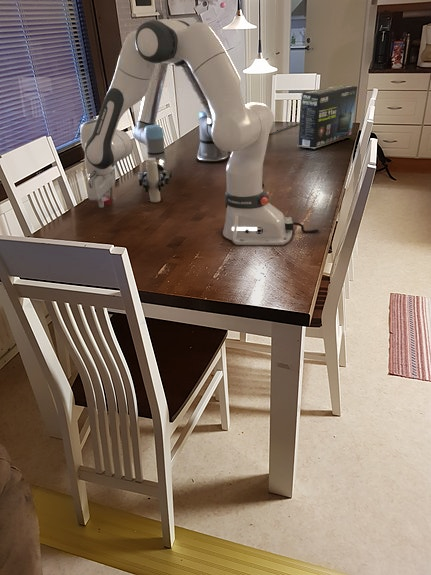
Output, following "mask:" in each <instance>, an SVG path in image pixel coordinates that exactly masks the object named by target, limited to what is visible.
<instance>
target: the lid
mask: <svg viewBox="0 0 431 575" xmlns="http://www.w3.org/2000/svg"><path fill="white" fill-rule="evenodd" d="M103 202H105V206H109V205H111V204H112V198H111V196H110V197H105V196H103Z"/></svg>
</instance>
